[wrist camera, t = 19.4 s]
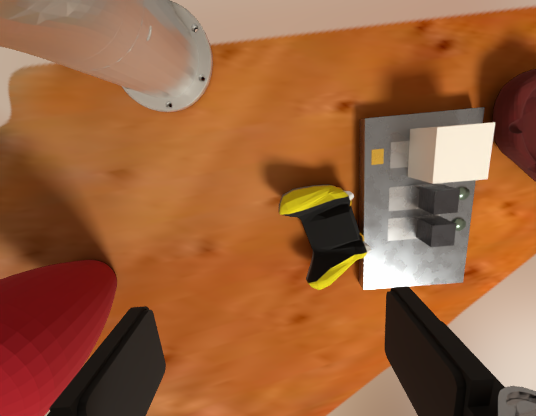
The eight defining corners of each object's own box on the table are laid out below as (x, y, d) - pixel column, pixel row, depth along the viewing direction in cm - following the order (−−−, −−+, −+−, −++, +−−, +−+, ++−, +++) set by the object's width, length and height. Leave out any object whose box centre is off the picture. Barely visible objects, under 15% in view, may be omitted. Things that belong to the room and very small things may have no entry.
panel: (359, 119, 35) (375, 116, 30) (472, 108, 34) (509, 103, 29) (359, 282, 41) (372, 304, 36) (453, 275, 41) (481, 295, 36)
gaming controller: (307, 277, 41) (367, 256, 40) (313, 298, 36) (382, 274, 35) (273, 192, 38) (338, 167, 37) (273, 202, 32) (349, 172, 31)
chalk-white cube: (407, 176, 35) (432, 183, 30) (410, 129, 33) (437, 127, 28) (453, 172, 35) (487, 179, 29) (458, 124, 33) (495, 122, 28)
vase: (139, 324, 44) (-115, 688, 15) (50, 308, 43) (-400, 659, 14) (146, 245, 40) (-176, 530, 11) (49, 226, 39) (-571, 478, 10)
